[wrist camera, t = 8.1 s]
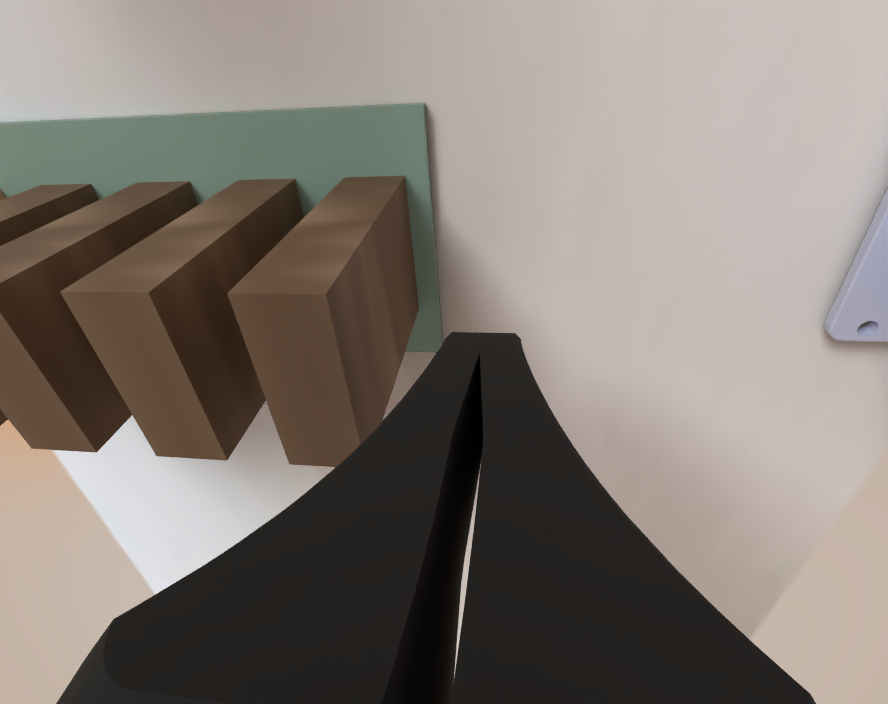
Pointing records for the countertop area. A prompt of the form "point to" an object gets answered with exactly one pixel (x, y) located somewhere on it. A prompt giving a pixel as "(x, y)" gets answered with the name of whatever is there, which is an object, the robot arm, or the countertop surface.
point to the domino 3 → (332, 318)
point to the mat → (243, 163)
